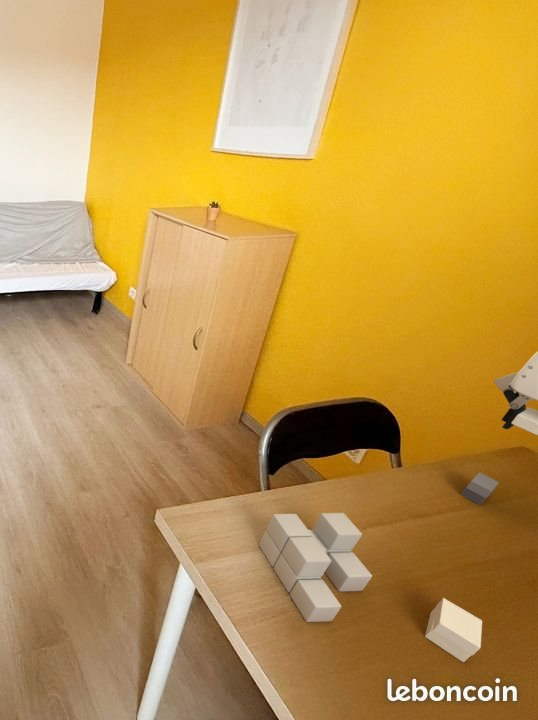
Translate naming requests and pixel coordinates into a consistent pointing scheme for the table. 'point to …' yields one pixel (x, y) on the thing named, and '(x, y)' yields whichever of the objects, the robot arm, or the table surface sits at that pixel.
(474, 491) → the grey blocks
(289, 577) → the light grey block structure
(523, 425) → the cream white block
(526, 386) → the robot arm
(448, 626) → the ivory rectangular block
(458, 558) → the table surface
